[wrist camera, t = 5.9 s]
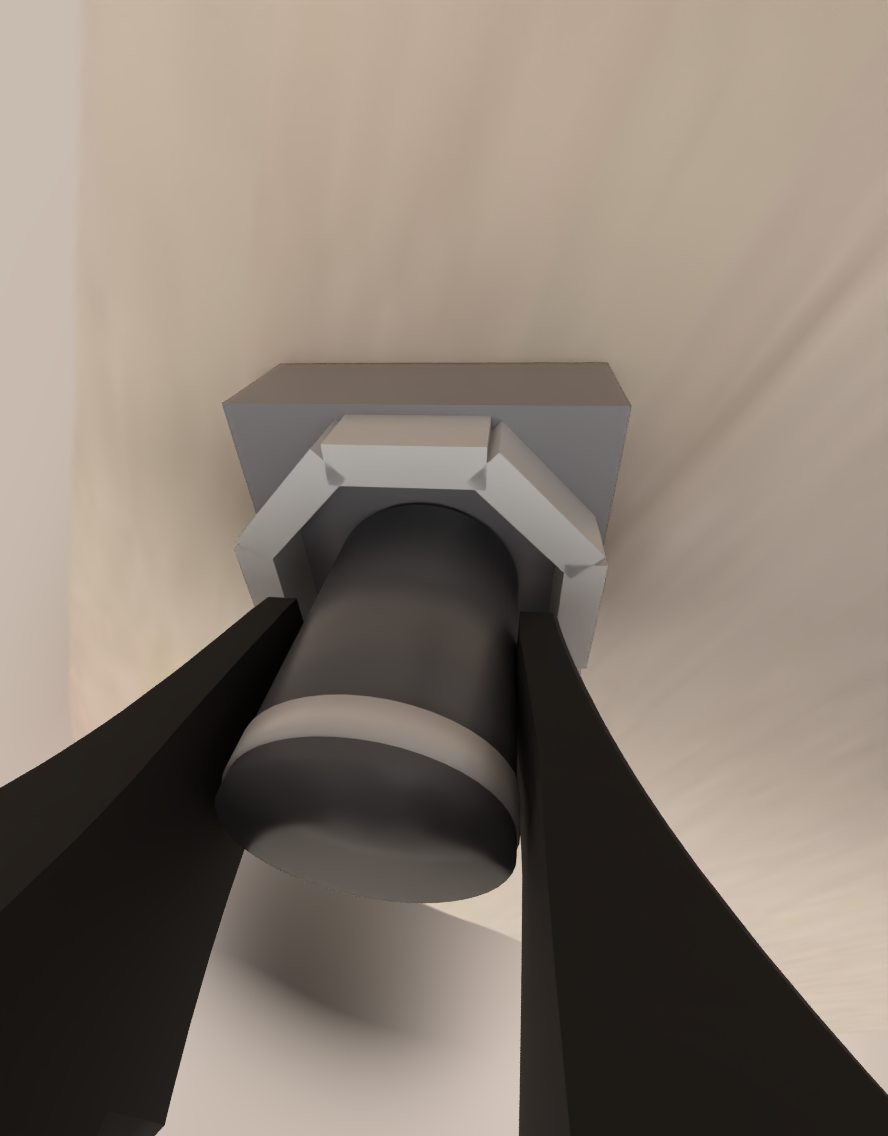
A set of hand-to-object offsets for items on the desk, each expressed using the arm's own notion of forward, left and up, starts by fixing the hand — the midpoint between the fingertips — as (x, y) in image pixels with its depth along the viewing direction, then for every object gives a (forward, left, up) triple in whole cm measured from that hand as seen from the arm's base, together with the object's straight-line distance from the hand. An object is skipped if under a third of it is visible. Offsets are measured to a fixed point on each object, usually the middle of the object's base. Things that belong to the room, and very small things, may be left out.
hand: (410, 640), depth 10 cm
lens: (0, 0, -2) cm, 2 cm away
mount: (0, 0, -5) cm, 5 cm away
